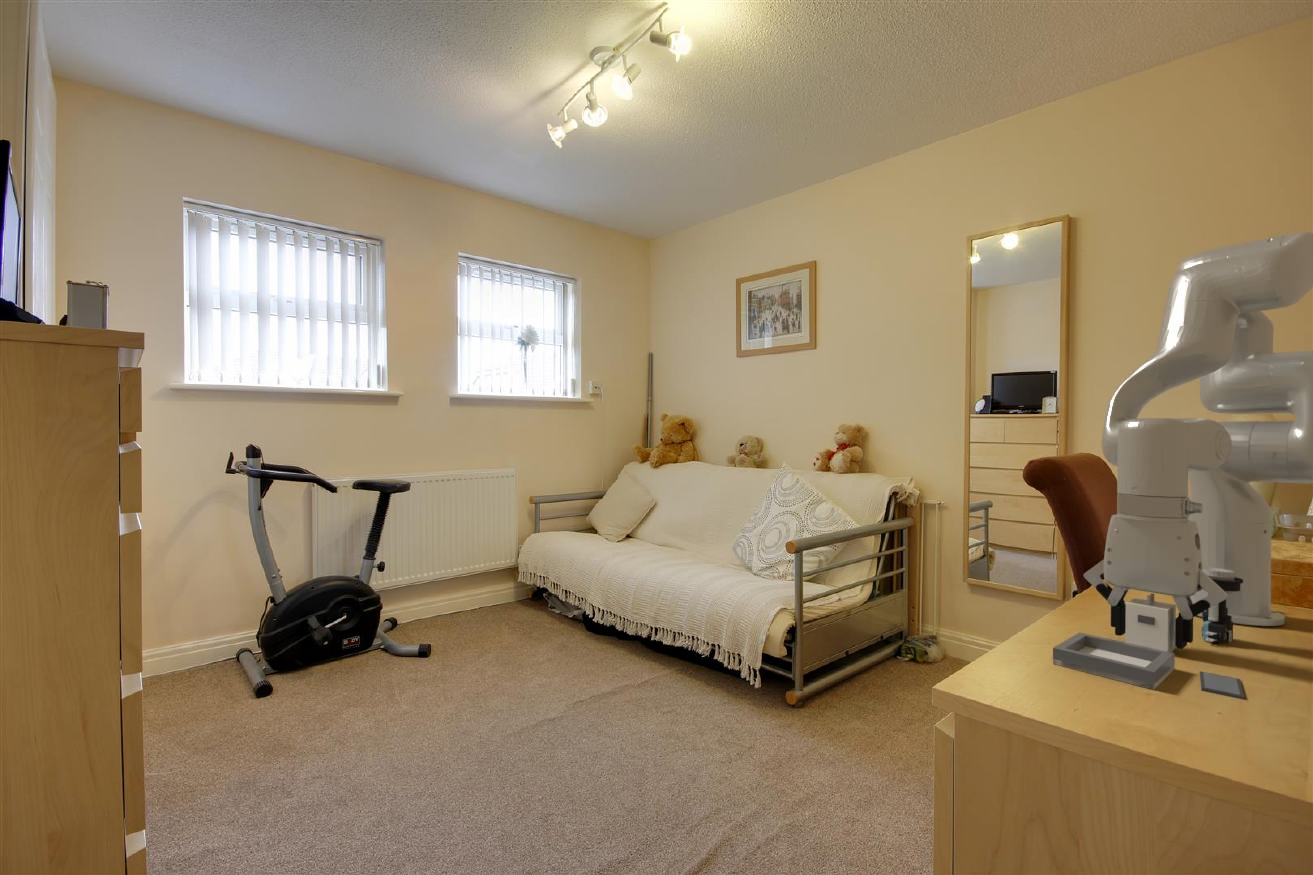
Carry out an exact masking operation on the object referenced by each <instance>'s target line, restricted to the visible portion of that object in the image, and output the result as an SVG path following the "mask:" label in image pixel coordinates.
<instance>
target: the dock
mask: <svg viewBox="0 0 1313 875" xmlns="http://www.w3.org/2000/svg"><path fill="white" fill-rule="evenodd" d="M1175 657H1176V654H1175V652H1167V651H1162V650H1158V649H1153V648H1149V647H1144V646H1139V645H1135V644H1130V643H1126V642H1124V641H1120V640H1115V639H1111V638H1107V637H1102V636H1098V635H1094V634H1088V633H1084V632H1077V633H1076V634H1074V635H1073V636H1071V637H1069V638H1067V639H1066V640H1064V641H1062V642H1061V643H1059V644H1057V645H1056V646H1053V647H1052V664H1053V665H1058V666H1060V667H1061V666H1062V667H1065V668H1069V669H1072V670H1077V671H1080V672H1084V673H1088V674H1091V675H1096V676H1099V677H1102V678H1107V679H1110V680H1115V681H1118V682H1122V683H1124V684H1125V683H1126V684H1130V685H1133V686H1137V687H1141V688H1146V689H1149V690H1153V691H1154V690H1156V688H1157V687H1158V686H1160V685H1161V684H1162V682H1163V681H1165V679H1166V678H1167V677H1168V676H1169V675H1170V674H1172V672H1174V670H1175V666H1176V664H1175V663H1176V661H1175V660H1176V658H1175Z"/></svg>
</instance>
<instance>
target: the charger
mask: <svg viewBox="0 0 1313 875" xmlns="http://www.w3.org/2000/svg"><path fill="white" fill-rule="evenodd" d="M1125 604H1126V628H1125V634H1124V635H1125V637H1124V638H1125V639H1124V640H1125V642H1126V643H1130V644H1135V645H1139V646H1144V647H1149V648H1153V649H1158V650H1162V651H1167V652H1171V653H1173V652H1174V651H1175V650H1176V647H1175V620H1176V618H1177V611H1176V608H1177V606H1176V603H1174V604H1173V603H1166V602H1162V601H1156V600H1155V593H1150V595H1146V599H1144V598H1138V597H1133V598H1132V599H1130V600H1128V601H1125Z"/></svg>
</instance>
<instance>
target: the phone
mask: <svg viewBox="0 0 1313 875" xmlns="http://www.w3.org/2000/svg"><path fill="white" fill-rule="evenodd" d="M1199 676H1200V677H1199V678H1200V679H1199V680H1200V690H1201V691H1202V692H1206V693H1211V694H1216V695H1220V696H1224V697H1230V698H1235V699H1239V700H1246V699H1245V694H1244V690H1243V687H1242V682H1241V679H1240V678H1236V677H1232V676H1226V675H1220V674H1218V673H1217V674H1216V673H1211V672H1206V671H1199Z"/></svg>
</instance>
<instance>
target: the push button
mask: <svg viewBox="0 0 1313 875" xmlns="http://www.w3.org/2000/svg"><path fill="white" fill-rule="evenodd" d="M1203 572H1204V573H1205V574H1206V575H1208V576H1209V577H1210V578H1211V579H1212V580H1213V581H1214V582H1215V583H1216V584H1217V585H1218V586H1219V587H1221V588H1222V589H1223V590H1224V591H1225V592H1226V593H1227V594H1233V593H1234V592H1236V591H1240V584H1241V583H1243V579H1240V578H1237V577H1236V576H1234V571H1231V570H1227V569H1221V568H1211V567H1203ZM1202 590H1205V589H1204V588H1203V587H1202ZM1205 591H1206V590H1205ZM1231 618H1232V617H1231V616H1230V615H1228V608H1227V607H1226V599H1225V600H1224V601H1222V602H1220V603H1218V604H1216V605H1214V606H1212V607H1210V608H1209V609H1207V610H1206V611H1204V612H1202V617H1201V619H1202V621H1203V625H1202V626H1201V637H1203V639H1202V640H1203V641H1204V642H1209V643H1211V644H1212V643H1213V644H1218V645H1221V644H1223V643H1225V642H1227V641H1228V642H1229V643H1231V642H1232V641H1233V638H1234V623H1233V621H1231Z"/></svg>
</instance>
